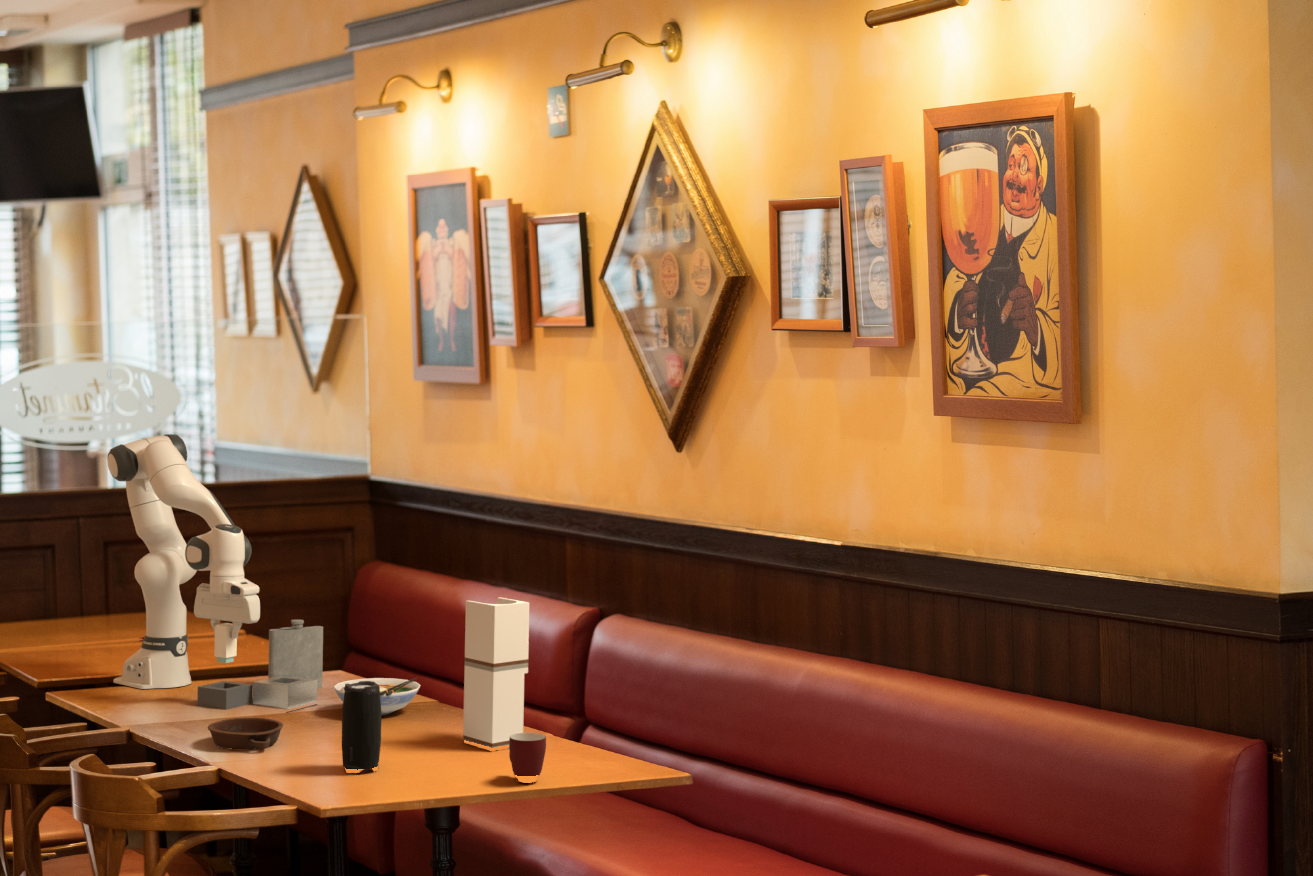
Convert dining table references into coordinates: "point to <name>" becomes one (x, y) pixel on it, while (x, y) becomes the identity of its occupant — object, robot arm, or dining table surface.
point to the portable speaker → (361, 725)
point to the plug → (225, 643)
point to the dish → (245, 733)
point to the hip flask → (296, 651)
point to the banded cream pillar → (495, 670)
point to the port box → (285, 692)
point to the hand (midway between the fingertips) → (225, 637)
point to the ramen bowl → (387, 692)
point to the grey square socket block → (224, 695)
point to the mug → (527, 753)
